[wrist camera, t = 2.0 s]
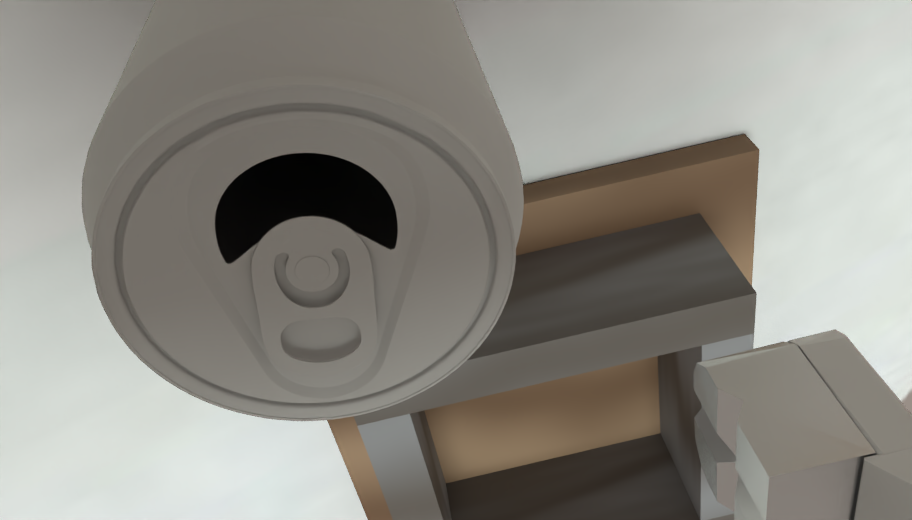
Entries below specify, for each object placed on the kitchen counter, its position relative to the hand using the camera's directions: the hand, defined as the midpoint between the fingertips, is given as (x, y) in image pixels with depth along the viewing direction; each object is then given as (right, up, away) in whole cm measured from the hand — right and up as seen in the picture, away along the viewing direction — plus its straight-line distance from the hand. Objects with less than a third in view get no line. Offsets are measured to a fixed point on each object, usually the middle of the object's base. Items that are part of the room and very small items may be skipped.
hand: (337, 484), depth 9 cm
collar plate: (+4, -1, +20) cm, 21 cm away
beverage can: (-2, +9, +12) cm, 15 cm away
